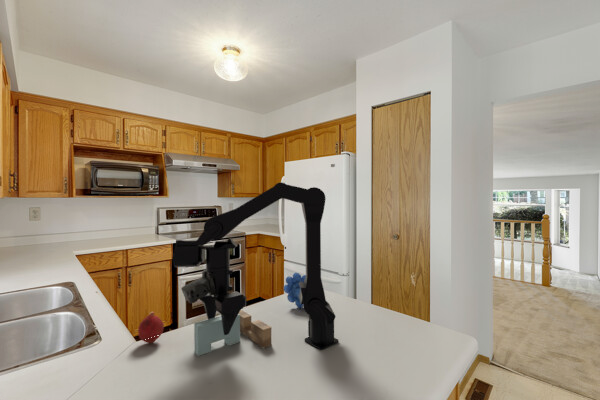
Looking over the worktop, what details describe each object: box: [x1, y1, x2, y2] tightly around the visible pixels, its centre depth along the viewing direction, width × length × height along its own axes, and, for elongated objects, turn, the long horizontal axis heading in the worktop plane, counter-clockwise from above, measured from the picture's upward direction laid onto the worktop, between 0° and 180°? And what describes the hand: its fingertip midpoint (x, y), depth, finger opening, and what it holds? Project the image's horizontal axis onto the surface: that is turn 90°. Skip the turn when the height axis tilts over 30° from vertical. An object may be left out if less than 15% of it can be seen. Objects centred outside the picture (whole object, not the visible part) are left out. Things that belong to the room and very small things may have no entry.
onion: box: [137, 311, 165, 344], centre depth 75 cm, size 6×6×8 cm
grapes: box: [283, 272, 306, 309], centre depth 99 cm, size 12×7×12 cm, turn 85°
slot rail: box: [239, 309, 272, 349], centre depth 79 cm, size 16×2×4 cm, turn 39°
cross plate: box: [193, 314, 241, 357], centre depth 73 cm, size 2×11×7 cm, turn 129°
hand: (218, 328), depth 73 cm, fingers open, 9 cm apart
